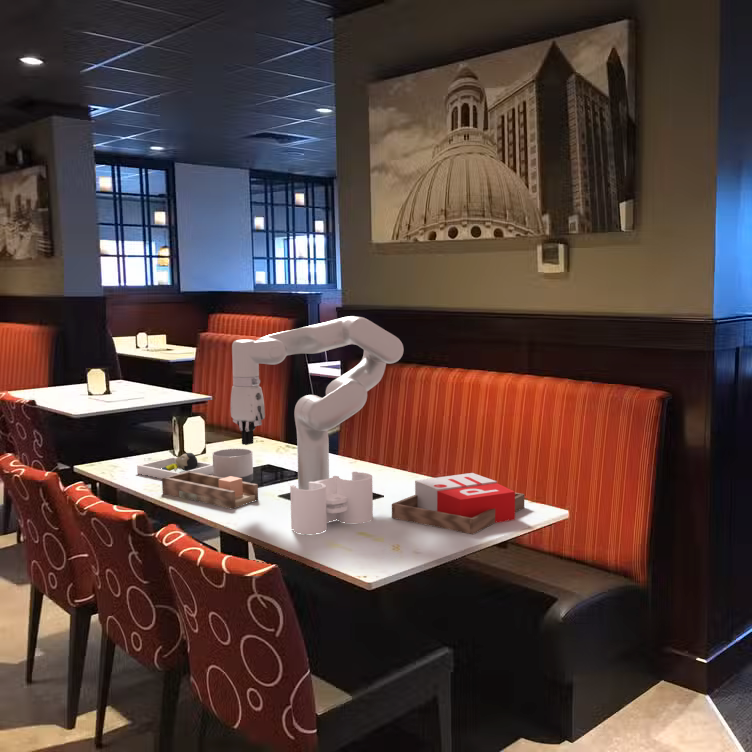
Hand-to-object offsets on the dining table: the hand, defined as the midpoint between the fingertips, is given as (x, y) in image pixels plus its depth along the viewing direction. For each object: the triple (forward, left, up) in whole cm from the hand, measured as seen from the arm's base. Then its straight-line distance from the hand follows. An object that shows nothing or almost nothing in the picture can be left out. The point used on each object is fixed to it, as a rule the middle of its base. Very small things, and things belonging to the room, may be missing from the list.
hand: (247, 443), depth 242 cm
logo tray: (-55, -29, -19) cm, 65 cm away
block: (+8, 0, -17) cm, 18 cm away
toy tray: (+50, -15, -19) cm, 55 cm away
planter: (+23, -16, -19) cm, 34 cm away
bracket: (-32, 0, -19) cm, 37 cm away
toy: (+50, -15, -19) cm, 55 cm away
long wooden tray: (+18, 0, -19) cm, 26 cm away
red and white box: (-57, -29, -19) cm, 67 cm away
